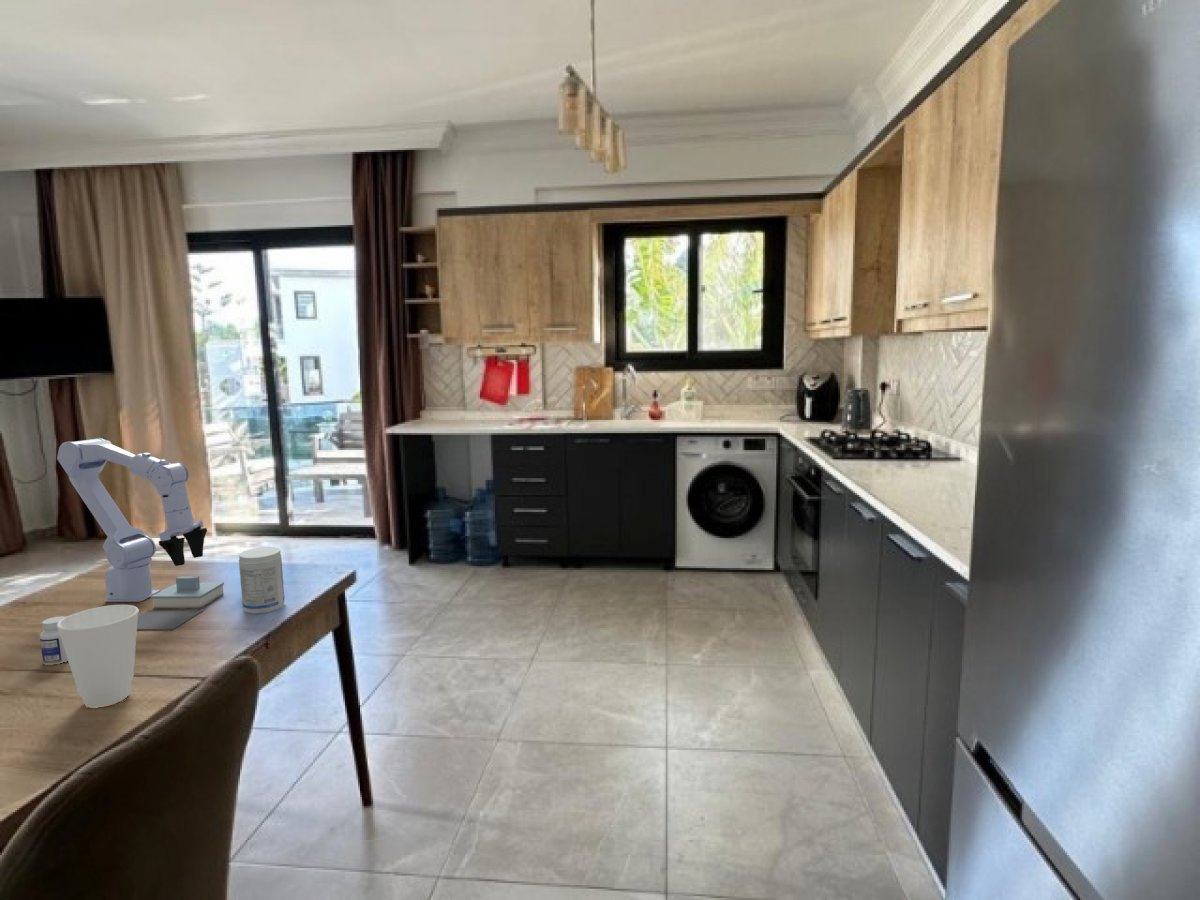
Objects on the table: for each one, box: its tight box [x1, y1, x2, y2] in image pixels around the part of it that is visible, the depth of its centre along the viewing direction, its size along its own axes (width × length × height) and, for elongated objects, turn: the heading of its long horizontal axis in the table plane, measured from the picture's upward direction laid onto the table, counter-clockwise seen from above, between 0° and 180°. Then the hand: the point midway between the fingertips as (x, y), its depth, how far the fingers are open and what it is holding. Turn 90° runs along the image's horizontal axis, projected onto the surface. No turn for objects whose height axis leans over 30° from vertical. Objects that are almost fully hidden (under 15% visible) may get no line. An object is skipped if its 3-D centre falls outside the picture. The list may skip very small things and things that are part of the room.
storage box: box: [152, 585, 224, 609], centre depth 169 cm, size 12×10×3 cm
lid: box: [150, 575, 225, 600], centre depth 168 cm, size 12×10×4 cm
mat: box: [137, 609, 204, 631], centre depth 156 cm, size 14×12×1 cm
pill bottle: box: [39, 615, 68, 666], centre depth 135 cm, size 5×5×9 cm
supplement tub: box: [238, 546, 286, 615], centre depth 163 cm, size 10×10×15 cm
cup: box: [57, 604, 140, 706], centre depth 119 cm, size 12×12×16 cm
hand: (189, 561), depth 168 cm, fingers open, 7 cm apart
